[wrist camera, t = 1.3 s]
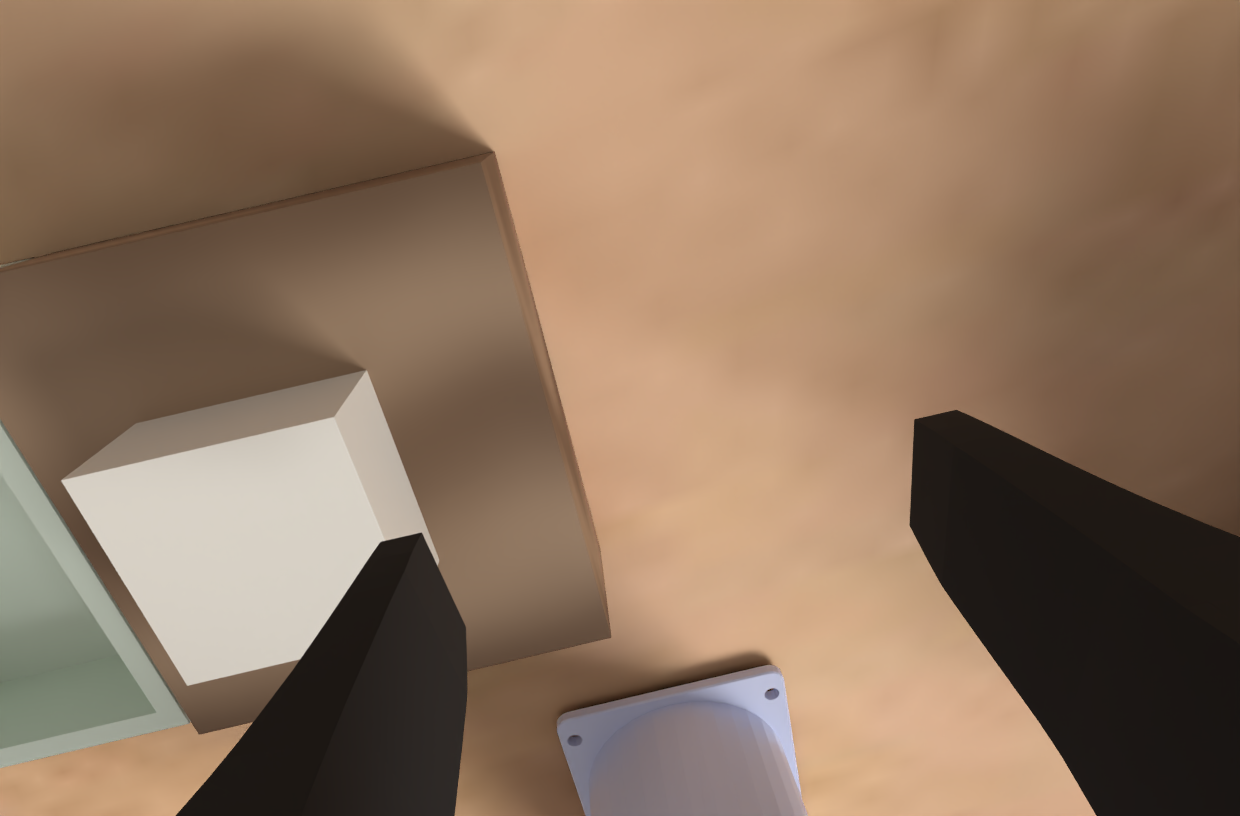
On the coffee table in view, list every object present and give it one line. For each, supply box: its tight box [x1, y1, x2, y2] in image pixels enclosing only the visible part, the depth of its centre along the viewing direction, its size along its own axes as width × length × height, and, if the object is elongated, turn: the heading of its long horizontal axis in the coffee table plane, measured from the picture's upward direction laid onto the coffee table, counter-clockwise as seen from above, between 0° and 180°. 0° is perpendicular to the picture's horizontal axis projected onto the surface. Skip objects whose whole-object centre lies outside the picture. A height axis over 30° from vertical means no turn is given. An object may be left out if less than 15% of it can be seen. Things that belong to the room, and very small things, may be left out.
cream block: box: [61, 370, 439, 686], centre depth 15 cm, size 5×5×2 cm
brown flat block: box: [0, 152, 611, 734], centre depth 18 cm, size 12×11×4 cm
